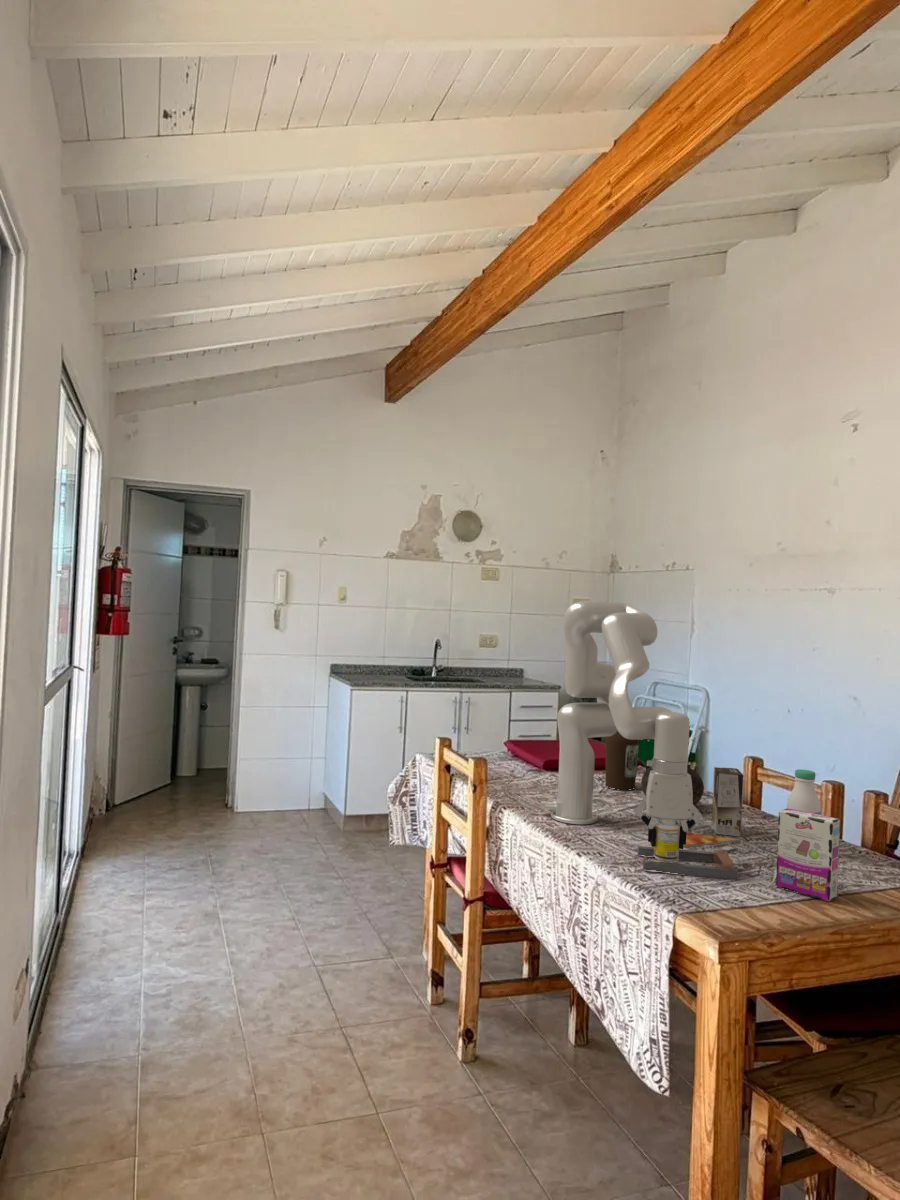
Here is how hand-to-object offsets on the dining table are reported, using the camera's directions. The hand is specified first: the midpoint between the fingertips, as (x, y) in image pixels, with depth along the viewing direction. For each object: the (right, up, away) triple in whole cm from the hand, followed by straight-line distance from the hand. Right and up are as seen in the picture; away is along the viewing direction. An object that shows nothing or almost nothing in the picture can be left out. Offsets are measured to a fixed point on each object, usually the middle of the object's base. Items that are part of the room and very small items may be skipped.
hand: (666, 845), depth 177 cm
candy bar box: (+26, -6, -14) cm, 30 cm away
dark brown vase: (+16, -5, +52) cm, 55 cm away
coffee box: (+24, -6, +30) cm, 39 cm away
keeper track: (+4, -5, -1) cm, 6 cm away
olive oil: (+6, -5, +75) cm, 75 cm away
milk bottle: (+37, -6, +14) cm, 40 cm away
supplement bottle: (0, -3, 0) cm, 3 cm away
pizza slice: (+11, -6, +18) cm, 21 cm away
